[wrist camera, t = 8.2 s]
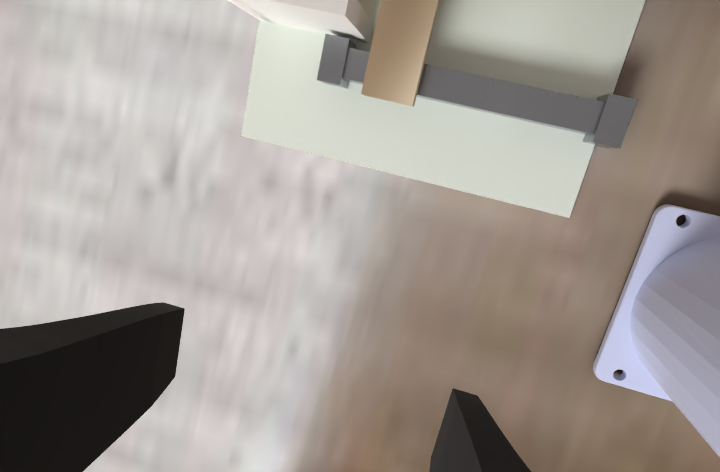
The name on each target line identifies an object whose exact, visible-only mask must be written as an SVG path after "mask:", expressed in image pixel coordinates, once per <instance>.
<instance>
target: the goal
mask: <svg viewBox="0 0 720 472" xmlns="http://www.w3.org/2000/svg"><path fill="white" fill-rule="evenodd" d="M228 1H229V2H231V3H233V4H234V5H236V6H238V7H239V8H241V9H242V10H244V11H246V12H247V13H249V14H251V15H252V16H254V17H255V18H257V19H259V20H262V21H267V22H272V23H277V24H281V25H286V26H291V27H296V28H300V29H305V30H310V31H315V32H319V33H324V34H330V35H335V36H339V37H344V38H349V39H353V40H357V41H362V42H367V43H369V40H370V35H371V30H372V26H373V22H372V21H371V19H370V18H369V16H368V15H367V13H366V12H365V10H364V9H363V7H362V6H361V4H360V3H359V1H358V0H228Z"/></svg>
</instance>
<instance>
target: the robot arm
mask: <svg viewBox="0 0 720 472" xmlns="http://www.w3.org/2000/svg"><path fill="white" fill-rule="evenodd" d="M680 215H685V217H686V221H685V223H684V224H683V225H680V226H677V224H676V219H677V218H678V216H680ZM183 316H184V308H180V307H177V306H174V305H170V304H167V303H153V304H146V305H141V306H135V307H130V308H125V309H120V310H115V311H110V312H105V313H100V314H95V315H90V316H85V317H79V318H73V319H68V320H62V321H56V322H50V323H44V324H38V325H31V326H23V327H15V328H5V329H0V472H83V471H84V470H85V469H86V468H87V467H88V466H89V465H90V464H91V463H92V462H93V461H94V460H95V459H97V458H98V457H99V456H100V455H101V454H102V453H103V452H104V451H105V450H106V449H107V448H108V447H109V446H110V445H111V444H112V443H114V442H115V441H116V440H117V439H118V438H119V437H120V436H121V435H122V434H123V433H124V432H125V431H126V430H127V429H128V428H129V427H130V426H132V425H133V424H134V423H135V422H136V421H137V420H138V419H139V418H140V417H141V416H142V415H143V414H144V413H145V412H146V411H147V410H148V409H149V408H150V407H151V406H152V405H153V404H154V402H155V401H156V400H157V399H158V398H159V396H160V395H161V394H162V393H163V391H164V390H165V389H166V388H167V386H168V385H169V384H170V382H171V381H172V380H173V378H174V377H175V373H176V366H177V359H178V352H179V345H180V338H181V331H182V324H183ZM618 369H619V370H623V373H622V374H621V375H619V376H613V373H614V372H615V371H616V370H618ZM593 370H594V373H595V375H596V376H597V377H598V378H599V379H600V380H602V381H605V382H608V383H612V384H615V385H618V386H622V387H625V388H629V389H632V390H636V391H639V392H642V393H646V394H649V395H653V396H656V397H659V398H663V399H666V400H670V401H673V402H674V403H675V405H676V406H677V407H678V408H679V409H680V411H681V412H682V413H683V414H684V415H685V416H686V418H687V419H688V420H689V421H690V422H691V424H692V425H693V426H694V427H695V428H696V430H697V431H698V432H699V433H700V434H701V436H702V437H703V438H704V439H705V440H706V441H707V443H708V444H709V445H710V446H711V447H712V449H713V450H714V451H715V452H716V453H717V455H718V456H719V457H720V216H717V215H713V214H708V213H704V212H700V211H696V210H692V209H687V208H683V207H679V206H675V205H669V204H665V205H662V206H660V207H658V208H657V209H656V210H655V212H654V213H653V215H652V218H651V220H650V223H649V225H648V228H647V231H646V233H645V236H644V238H643V241H642V243H641V246H640V248H639V251H638V253H637V256H636V258H635V261H634V263H633V266H632V268H631V271H630V273H629V276H628V279H627V281H626V284H625V286H624V289H623V291H622V294H621V296H620V299H619V301H618V304H617V306H616V309H615V311H614V314H613V316H612V319H611V321H610V324H609V326H608V329H607V332H606V334H605V337H604V339H603V342H602V344H601V347H600V349H599V352H598V354H597V357H596V359H595V362H594V364H593ZM430 472H531V471H530V470H529V468H528V467H527V466H526V465H525V463H524V462H523V461H522V459H521V458H520V457H519V455H518V454H517V453H516V451H515V450H514V449H513V447H512V446H511V444H510V443H509V442H508V440H507V439H506V437H505V436H504V434H503V433H502V431H501V430H500V428H499V427H498V425H497V424H496V422H495V421H494V419H493V418H492V416H491V415H490V413H489V412H488V410H487V409H486V407H485V406H484V404H483V403H482V401H481V400H480V399H479V397H478V396H477V395H473V394H470V393H467V392H463V391H460V390H457V389H452V392H451V396H450V399H449V402H448V405H447V408H446V412H445V415H444V418H443V421H442V424H441V428H440V431H439V434H438V437H437V440H436V444H435V447H434V450H433V453H432V456H431V463H430Z"/></svg>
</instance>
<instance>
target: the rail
mask: <svg viewBox="0 0 720 472" xmlns="http://www.w3.org/2000/svg"><path fill="white" fill-rule="evenodd" d="M369 54H370V52H368V51H363V50H358V49H356V45H355V44H354V43H353V42H352V41H351V40H350V39H349V38H344V37H339V36H335V35H330V34H325V39H324V44H323V50H322V55H321V60H320V65H319V70H318V76H317V80H318V81H320V82H323V83H325V84H329V85H333V86H337V87H342V88H346V89H347V88H348V84H349V82H353V83H357V84H362V85H363V82H364V77H365V73H366V68H367V64H368V59H369ZM417 97H420V98H424V99H429V100H433V101H437V102H442V103H446V104H451V105H455V106H460V107H464V108H469V109H473V110H478V111H482V112H487V113H491V114H496V115H500V116H504V117H509V118H513V119H518V120H522V121H527V122H531V123H536V124H540V125H545V126H549V127H554V128H558V129H563V130H567V131H571V132H576V133H580V134H585V136H584V138H583V141H582V142H585V143H589V144H594V145H597V146H602V147H606V148H620V147H621V144H622V142H623V139H624V136H625V133H626V131H627V128H628V125H629V122H630V120H631V117H632V114H633V111H634V109H635V106H636V103H637V100H638V99H634V98H629V97H624V96H620V95H615V94H610V93H609V94H606V95H602V96H598V98H597V100H593V99H588V98H583V97H579V96H574V95H569V94H565V93H560V92H555V91H550V90H546V89H541V88H536V87H532V86H527V85H522V84H518V83H513V82H508V81H504V80H499V79H494V78H490V77H485V76H480V75H475V74H471V73H466V72H461V71H457V70H452V69H447V68H443V67H438V66H433V65H429V64H424V68H423V72H422V77H421V81H420V85H419V89H418V93H417Z"/></svg>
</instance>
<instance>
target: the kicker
mask: <svg viewBox="0 0 720 472" xmlns="http://www.w3.org/2000/svg"><path fill="white" fill-rule="evenodd" d="M439 4H440V0H381V4H380V8H379V13H378V18H377V22H376V27H375V31H374V36H373V41H372V45H371V50H370V54H369V59H368V64H367V68H366V73H365V77H364V82H363V87H362V91H361V94H362V95H364V96H368V97H373V98H377V99H382V100H386V101H390V102H395V103H399V104H404V105H408V106H412V107H414V105H415V101H416V97H417V93H418V89H419V85H420V81H421V77H422V72H423V68H424V64H425V60H426V56H427V52H428V48H429V44H430V40H431V36H432V32H433V28H434V24H435V20H436V16H437V12H438V8H439Z"/></svg>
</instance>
